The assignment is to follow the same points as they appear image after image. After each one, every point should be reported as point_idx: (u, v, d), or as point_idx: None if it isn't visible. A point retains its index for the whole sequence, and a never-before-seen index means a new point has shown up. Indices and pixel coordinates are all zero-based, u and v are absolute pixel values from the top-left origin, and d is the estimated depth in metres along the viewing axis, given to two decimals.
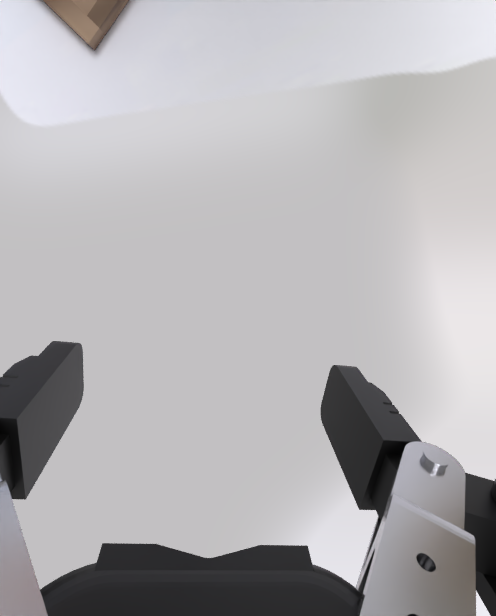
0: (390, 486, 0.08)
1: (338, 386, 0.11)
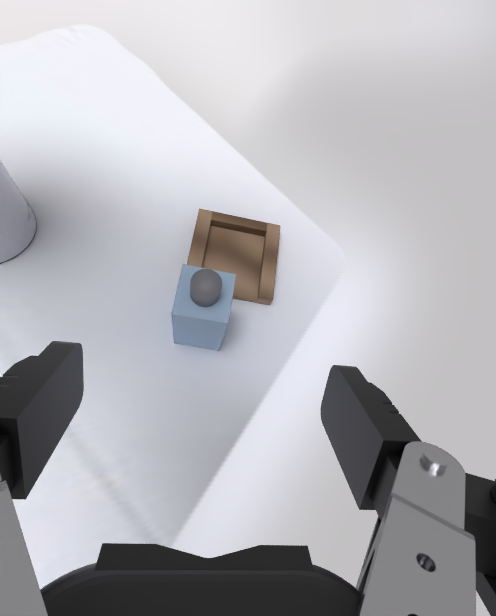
0: (390, 486, 0.08)
1: (338, 386, 0.11)
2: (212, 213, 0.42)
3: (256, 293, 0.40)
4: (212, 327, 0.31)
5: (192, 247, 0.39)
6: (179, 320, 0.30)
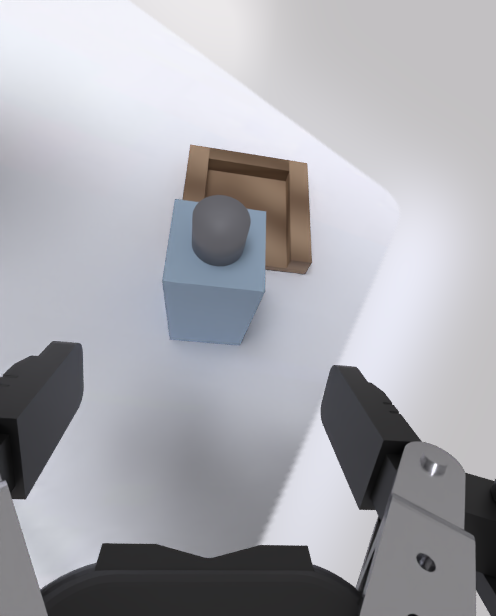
0: (390, 486, 0.08)
1: (338, 386, 0.11)
2: (210, 150, 0.29)
3: (285, 258, 0.27)
4: (234, 302, 0.18)
5: (185, 196, 0.27)
6: (177, 294, 0.17)
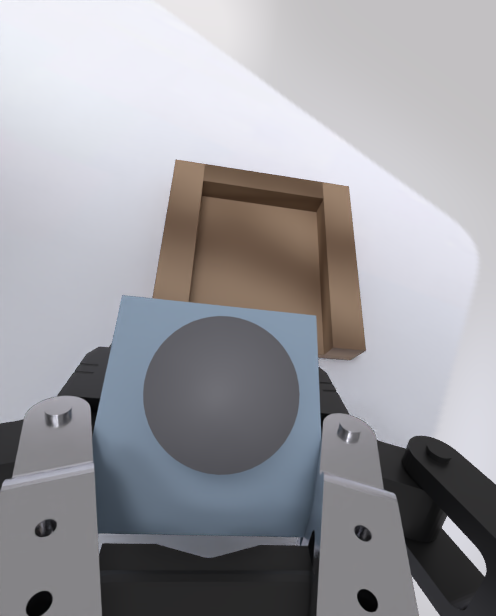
0: None
1: None
2: (205, 168, 0.19)
3: (320, 337, 0.18)
4: None
5: (165, 243, 0.17)
6: None
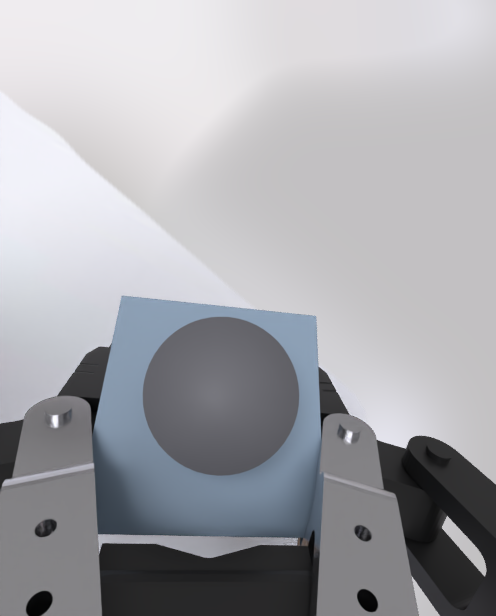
0: None
1: None
2: None
3: None
4: None
5: None
6: None
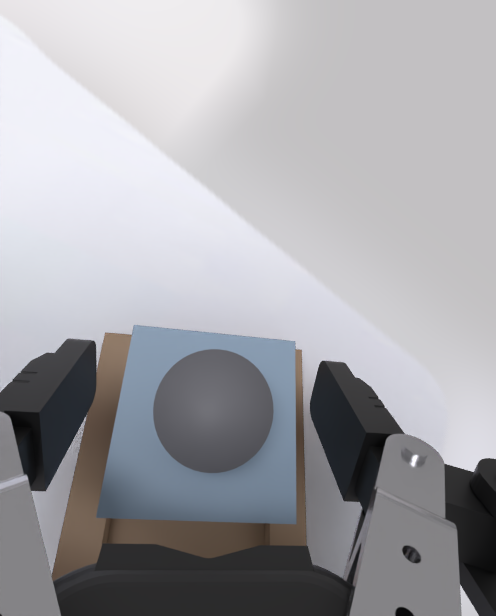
0: (372, 477, 0.08)
1: (326, 381, 0.11)
2: None
3: None
4: None
5: (83, 453, 0.15)
6: None
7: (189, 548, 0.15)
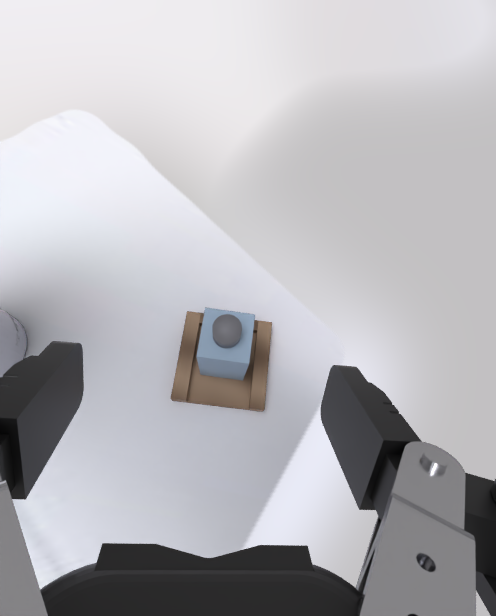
0: (390, 486, 0.08)
1: (338, 386, 0.11)
2: (200, 315, 0.41)
3: (248, 400, 0.39)
4: (234, 365, 0.33)
5: (180, 357, 0.39)
6: (204, 360, 0.33)
7: (219, 397, 0.38)
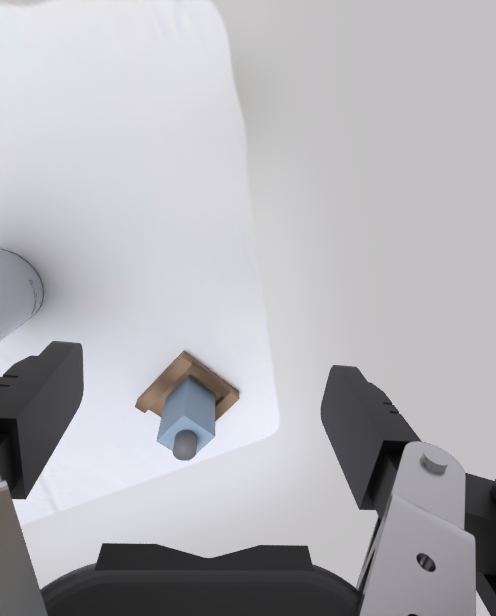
0: (390, 486, 0.08)
1: (338, 386, 0.11)
2: (190, 365, 0.46)
3: None
4: None
5: (157, 385, 0.46)
6: None
7: None
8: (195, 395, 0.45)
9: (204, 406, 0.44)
